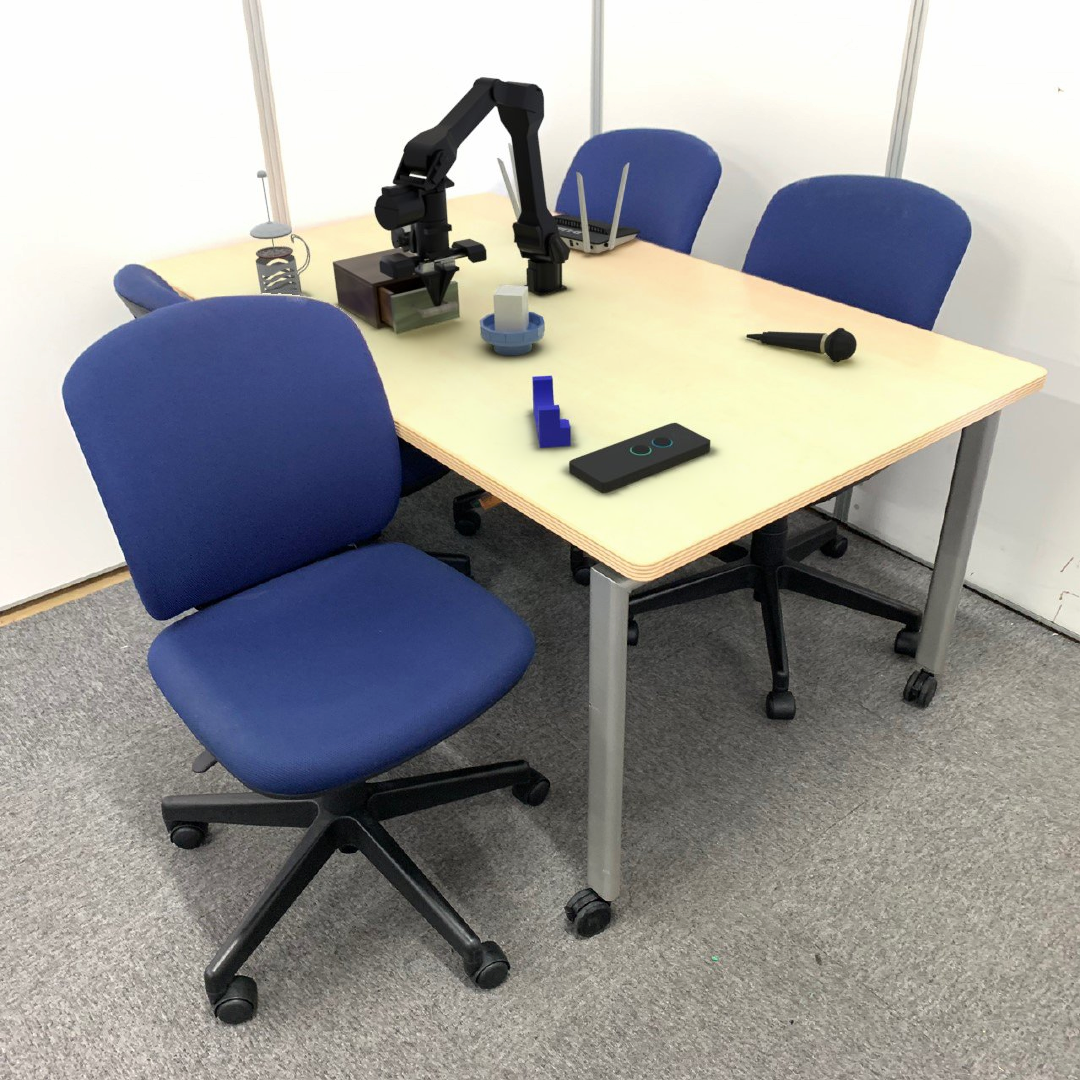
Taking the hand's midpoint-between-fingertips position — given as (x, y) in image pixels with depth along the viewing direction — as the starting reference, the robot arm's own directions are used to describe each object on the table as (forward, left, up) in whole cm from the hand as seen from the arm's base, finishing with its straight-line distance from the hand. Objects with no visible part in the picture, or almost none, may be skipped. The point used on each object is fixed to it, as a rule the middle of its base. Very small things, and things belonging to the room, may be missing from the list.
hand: (437, 305), depth 184 cm
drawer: (0, -9, -5) cm, 10 cm away
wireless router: (-53, -31, -6) cm, 62 cm away
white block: (-7, +13, -2) cm, 15 cm away
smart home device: (+2, +59, -6) cm, 60 cm away
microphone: (-46, +45, -6) cm, 65 cm away
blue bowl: (-7, +13, -6) cm, 16 cm away
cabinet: (0, -19, -6) cm, 19 cm away
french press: (+14, -37, -6) cm, 40 cm away
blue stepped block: (+6, +43, -6) cm, 44 cm away
